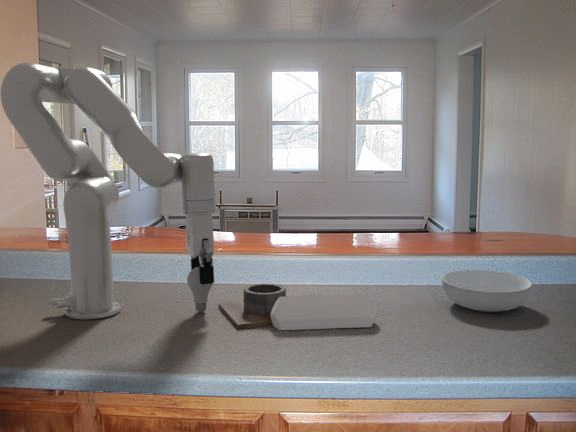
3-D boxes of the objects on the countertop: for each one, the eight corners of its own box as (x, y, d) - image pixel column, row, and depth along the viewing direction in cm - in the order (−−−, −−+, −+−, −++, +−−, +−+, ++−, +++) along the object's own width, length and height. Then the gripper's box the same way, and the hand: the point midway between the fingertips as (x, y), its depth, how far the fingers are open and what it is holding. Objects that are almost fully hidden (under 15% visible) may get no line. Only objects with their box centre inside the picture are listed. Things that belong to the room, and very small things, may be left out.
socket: (238, 329, 142) (237, 302, 141) (218, 307, 159) (218, 283, 158) (314, 320, 148) (314, 294, 147) (288, 300, 165) (288, 276, 164)
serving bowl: (434, 314, 153) (435, 285, 152) (447, 292, 172) (448, 266, 171) (529, 324, 145) (530, 294, 144) (532, 300, 164) (533, 273, 163)
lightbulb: (209, 317, 151) (208, 270, 149) (184, 315, 152) (182, 269, 150) (217, 309, 157) (216, 264, 155) (193, 308, 158) (192, 263, 156)
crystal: (371, 300, 151) (268, 304, 149) (378, 292, 145) (270, 296, 142) (375, 332, 148) (270, 336, 146) (381, 325, 142) (271, 329, 140)
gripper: (176, 203, 157) (180, 272, 160) (190, 212, 141) (194, 289, 144) (206, 201, 160) (210, 269, 162) (224, 210, 144) (227, 285, 146)
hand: (202, 278), depth 153 cm, fingers open, 9 cm apart
